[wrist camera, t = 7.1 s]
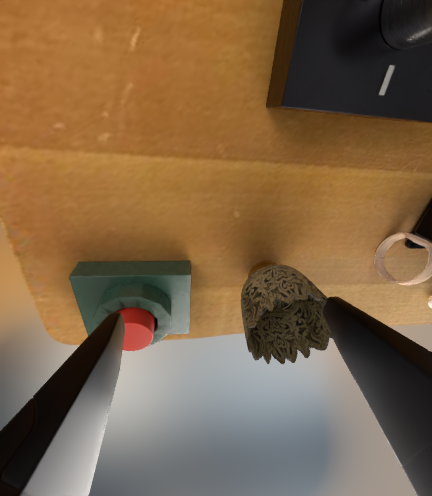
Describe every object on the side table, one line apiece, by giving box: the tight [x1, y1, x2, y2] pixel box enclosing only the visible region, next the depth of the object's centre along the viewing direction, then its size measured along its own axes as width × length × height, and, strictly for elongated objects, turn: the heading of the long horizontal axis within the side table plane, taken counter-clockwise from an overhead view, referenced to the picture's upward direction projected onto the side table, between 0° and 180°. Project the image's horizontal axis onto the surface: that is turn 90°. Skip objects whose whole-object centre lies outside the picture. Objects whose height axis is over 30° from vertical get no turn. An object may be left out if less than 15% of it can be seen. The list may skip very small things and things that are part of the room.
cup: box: [241, 261, 333, 364], centre depth 20 cm, size 8×7×8 cm
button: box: [117, 307, 155, 351], centre depth 19 cm, size 4×4×2 cm
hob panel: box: [266, 0, 432, 123], centre depth 13 cm, size 12×9×3 cm
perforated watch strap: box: [374, 232, 432, 285], centre depth 22 cm, size 3×5×5 cm, turn 161°
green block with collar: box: [69, 261, 191, 346], centre depth 21 cm, size 10×8×4 cm
